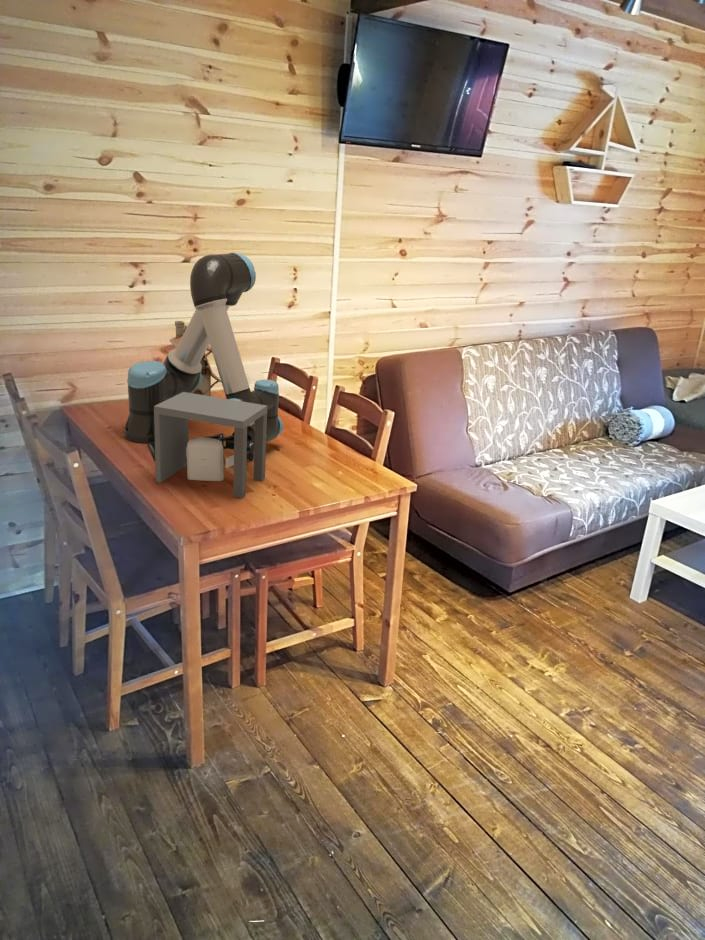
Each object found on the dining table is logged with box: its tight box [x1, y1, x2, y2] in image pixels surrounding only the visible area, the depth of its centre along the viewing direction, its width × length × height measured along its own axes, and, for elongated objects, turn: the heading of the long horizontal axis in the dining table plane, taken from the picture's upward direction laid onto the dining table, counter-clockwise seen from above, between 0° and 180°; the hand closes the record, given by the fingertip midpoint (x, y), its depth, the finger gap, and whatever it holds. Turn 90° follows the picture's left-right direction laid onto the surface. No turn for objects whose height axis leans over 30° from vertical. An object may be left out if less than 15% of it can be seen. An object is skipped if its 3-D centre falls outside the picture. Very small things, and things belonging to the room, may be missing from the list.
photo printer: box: [186, 436, 224, 482], centre depth 203 cm, size 10×4×12 cm, turn 91°
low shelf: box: [154, 392, 267, 499], centre depth 201 cm, size 26×16×22 cm, turn 74°
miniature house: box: [169, 320, 222, 396], centre depth 259 cm, size 18×24×30 cm
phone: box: [147, 442, 155, 462], centre depth 222 cm, size 8×1×15 cm
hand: (206, 457), depth 202 cm, fingers open, 13 cm apart
